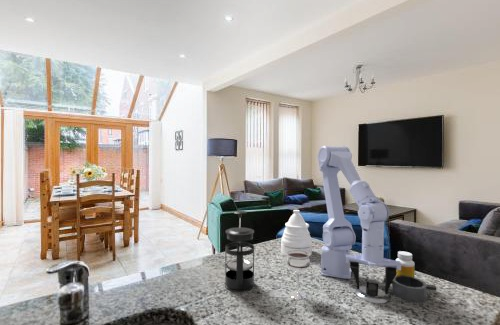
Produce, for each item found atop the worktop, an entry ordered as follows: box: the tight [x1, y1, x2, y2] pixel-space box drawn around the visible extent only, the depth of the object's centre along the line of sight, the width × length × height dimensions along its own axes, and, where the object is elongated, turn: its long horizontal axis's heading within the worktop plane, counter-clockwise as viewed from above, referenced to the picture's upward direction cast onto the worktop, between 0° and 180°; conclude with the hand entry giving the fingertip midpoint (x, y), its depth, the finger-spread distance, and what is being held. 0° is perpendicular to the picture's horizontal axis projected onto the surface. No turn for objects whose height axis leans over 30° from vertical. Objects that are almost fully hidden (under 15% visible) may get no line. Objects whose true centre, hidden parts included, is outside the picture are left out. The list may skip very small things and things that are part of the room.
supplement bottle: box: [395, 250, 416, 277], centre depth 87 cm, size 5×5×10 cm
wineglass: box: [286, 250, 311, 300], centre depth 80 cm, size 7×7×12 cm
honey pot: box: [280, 209, 313, 257], centre depth 116 cm, size 13×13×18 cm
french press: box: [224, 210, 255, 293], centre depth 85 cm, size 12×9×23 cm
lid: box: [354, 279, 390, 304], centre depth 80 cm, size 9×9×4 cm
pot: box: [383, 275, 437, 304], centre depth 80 cm, size 13×9×4 cm, turn 69°
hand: (371, 290), depth 80 cm, fingers open, 7 cm apart
